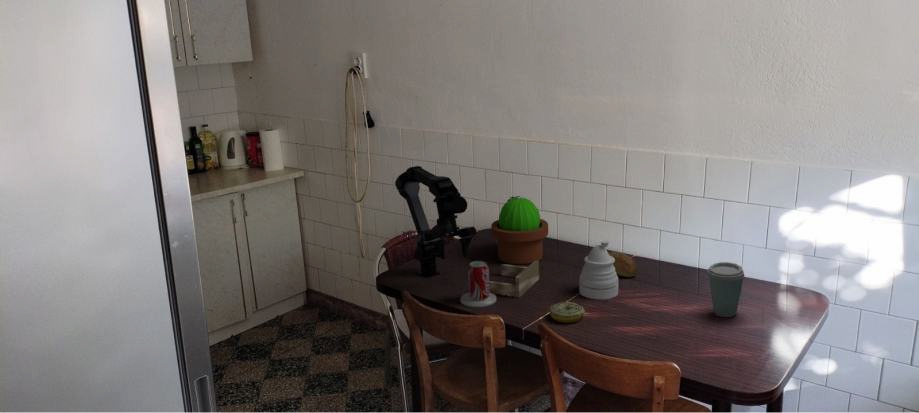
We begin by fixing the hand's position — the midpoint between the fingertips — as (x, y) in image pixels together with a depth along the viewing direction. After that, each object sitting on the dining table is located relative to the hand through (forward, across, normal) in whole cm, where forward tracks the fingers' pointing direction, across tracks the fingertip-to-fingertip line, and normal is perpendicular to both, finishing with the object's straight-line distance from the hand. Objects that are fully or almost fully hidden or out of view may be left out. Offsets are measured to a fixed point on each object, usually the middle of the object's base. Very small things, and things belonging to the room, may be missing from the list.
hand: (454, 258), depth 241 cm
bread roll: (+17, +43, +38) cm, 60 cm away
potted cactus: (+8, +4, +39) cm, 40 cm away
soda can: (+14, +10, -4) cm, 18 cm away
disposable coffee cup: (+27, +82, +19) cm, 89 cm away
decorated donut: (+21, +41, -4) cm, 46 cm away
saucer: (+14, +10, -5) cm, 18 cm away
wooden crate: (+13, +14, +12) cm, 22 cm away
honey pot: (+19, +43, +19) cm, 51 cm away
